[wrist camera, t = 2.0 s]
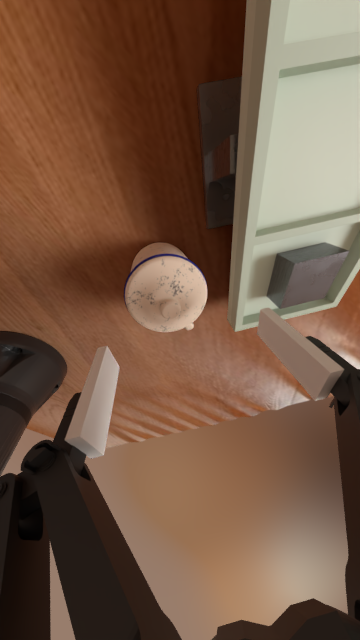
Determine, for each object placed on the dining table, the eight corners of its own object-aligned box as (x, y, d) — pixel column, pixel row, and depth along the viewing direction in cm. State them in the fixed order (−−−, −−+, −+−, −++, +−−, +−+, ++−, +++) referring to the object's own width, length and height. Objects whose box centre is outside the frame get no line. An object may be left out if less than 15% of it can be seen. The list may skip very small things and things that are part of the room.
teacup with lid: (116, 262, 23) (96, 299, 14) (172, 226, 22) (193, 239, 13) (161, 321, 30) (169, 373, 20) (206, 295, 29) (237, 339, 19)
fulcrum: (206, 228, 23) (225, 234, 18) (196, 89, 16) (222, 28, 11) (328, 201, 24) (382, 199, 18) (369, 58, 17) (475, -13, 11)
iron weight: (266, 296, 23) (279, 309, 21) (276, 253, 19) (295, 263, 17) (306, 286, 24) (324, 298, 21) (325, 242, 20) (349, 250, 17)
